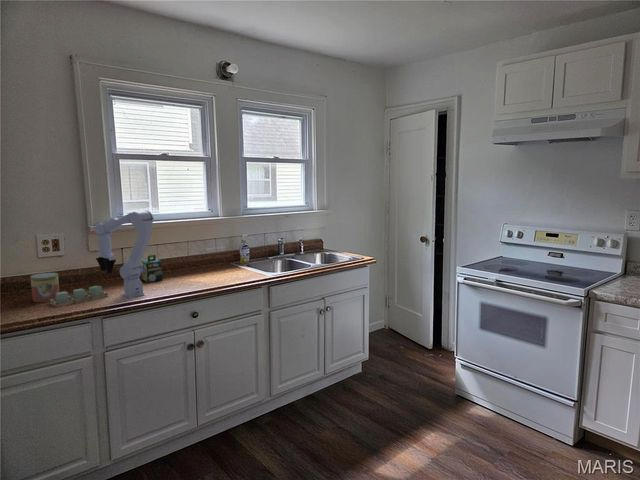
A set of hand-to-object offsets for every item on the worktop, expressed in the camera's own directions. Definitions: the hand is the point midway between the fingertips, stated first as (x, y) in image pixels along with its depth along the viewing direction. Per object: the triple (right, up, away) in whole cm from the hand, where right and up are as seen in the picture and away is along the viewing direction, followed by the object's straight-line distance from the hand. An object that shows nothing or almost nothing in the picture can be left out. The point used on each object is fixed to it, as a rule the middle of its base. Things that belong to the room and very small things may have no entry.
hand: (106, 271), depth 215 cm
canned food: (-22, -13, -13) cm, 29 cm away
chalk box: (+13, -7, +27) cm, 31 cm away
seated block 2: (-5, -12, -15) cm, 20 cm away
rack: (-5, -13, -15) cm, 20 cm away
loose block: (0, -12, -9) cm, 15 cm away
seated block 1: (-10, -13, -20) cm, 26 cm away
